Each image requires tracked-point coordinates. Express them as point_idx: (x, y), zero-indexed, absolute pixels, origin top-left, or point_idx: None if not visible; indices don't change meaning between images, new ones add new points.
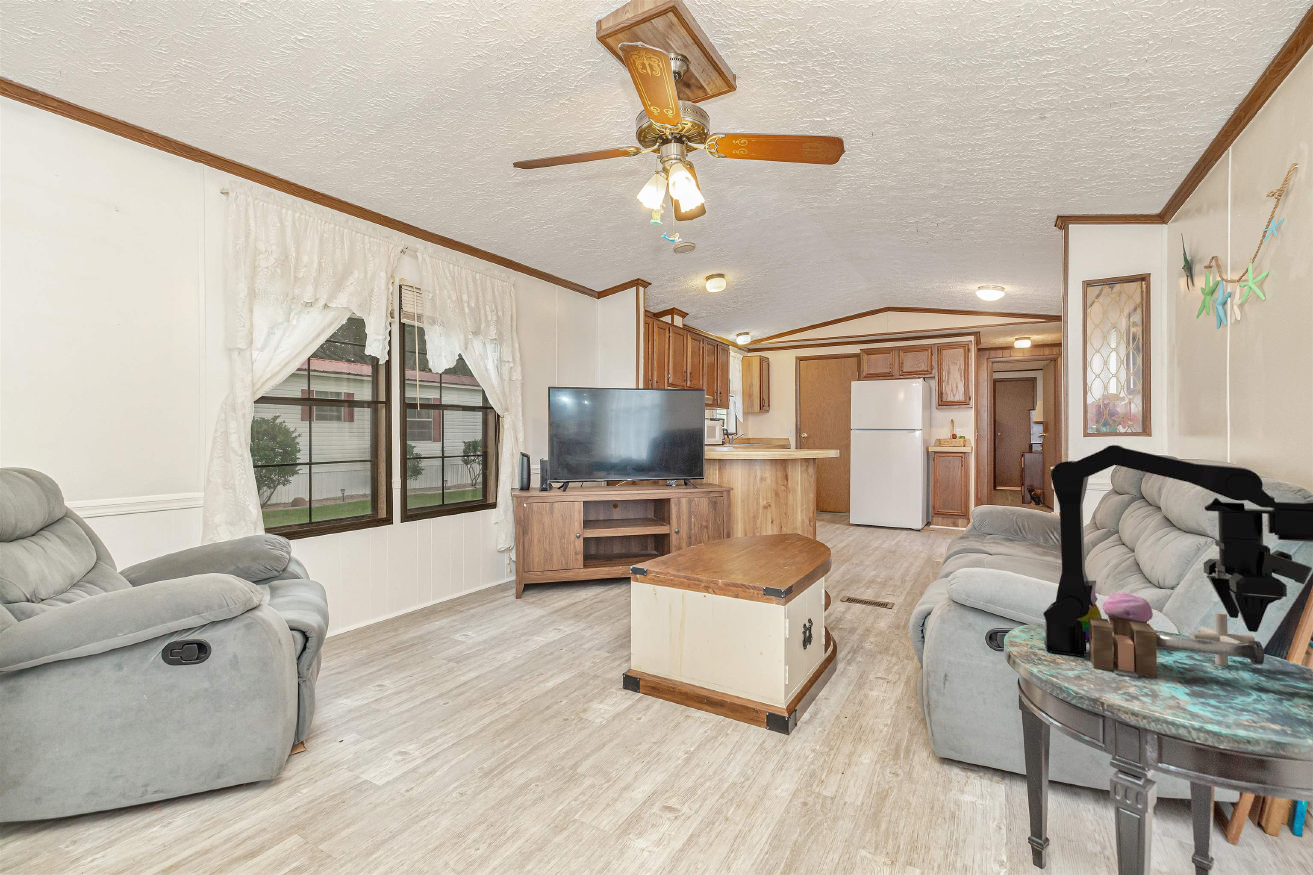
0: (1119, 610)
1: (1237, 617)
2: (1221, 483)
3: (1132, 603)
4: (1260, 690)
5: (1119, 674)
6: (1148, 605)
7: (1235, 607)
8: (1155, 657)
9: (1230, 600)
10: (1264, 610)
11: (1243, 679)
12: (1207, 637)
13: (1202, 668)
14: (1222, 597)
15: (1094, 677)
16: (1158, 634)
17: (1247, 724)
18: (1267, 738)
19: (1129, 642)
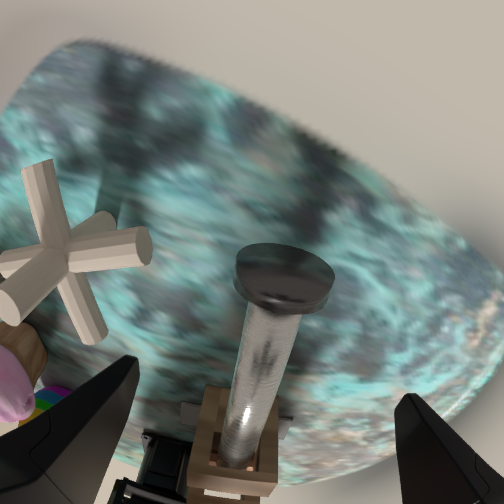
0: (29, 413)
1: (135, 358)
2: None
3: (5, 407)
4: (312, 232)
5: (284, 435)
6: None
7: (117, 408)
8: (277, 431)
9: (100, 449)
10: (490, 471)
11: (225, 229)
12: (91, 306)
13: (165, 288)
14: (101, 475)
15: (305, 455)
16: (235, 459)
17: (479, 342)
18: None
19: (252, 469)
